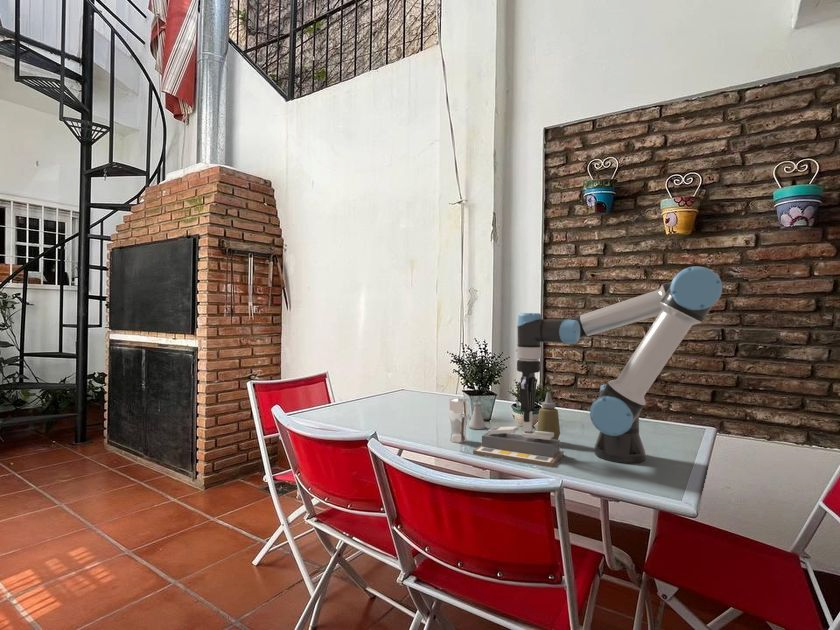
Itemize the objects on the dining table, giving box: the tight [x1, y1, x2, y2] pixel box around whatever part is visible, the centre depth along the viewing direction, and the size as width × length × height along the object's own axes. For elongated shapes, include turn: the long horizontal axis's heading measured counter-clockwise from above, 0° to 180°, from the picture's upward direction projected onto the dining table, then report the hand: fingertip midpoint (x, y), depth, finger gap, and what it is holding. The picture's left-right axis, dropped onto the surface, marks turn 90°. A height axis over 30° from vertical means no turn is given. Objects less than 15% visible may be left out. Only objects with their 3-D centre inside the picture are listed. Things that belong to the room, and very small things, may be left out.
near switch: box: [521, 430, 554, 440], centre depth 150 cm, size 9×5×1 cm, turn 60°
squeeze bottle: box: [536, 392, 561, 440], centre depth 165 cm, size 8×8×18 cm
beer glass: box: [448, 397, 469, 444], centre depth 167 cm, size 7×7×15 cm
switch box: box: [472, 432, 565, 468], centre depth 151 cm, size 26×14×6 cm, turn 60°
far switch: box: [487, 425, 519, 434], centre depth 156 cm, size 9×5×1 cm, turn 60°
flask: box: [468, 402, 487, 430], centre depth 187 cm, size 7×7×10 cm
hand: (527, 431), depth 151 cm, fingers closed
